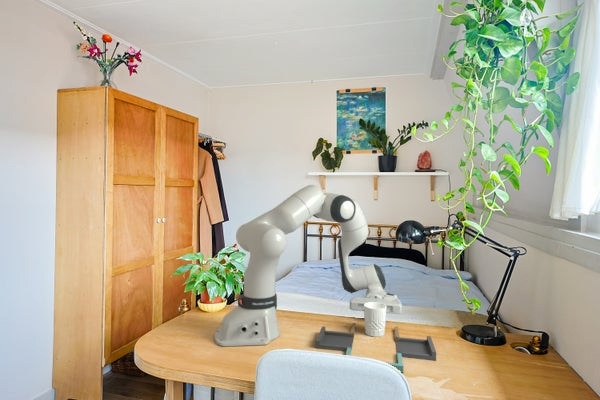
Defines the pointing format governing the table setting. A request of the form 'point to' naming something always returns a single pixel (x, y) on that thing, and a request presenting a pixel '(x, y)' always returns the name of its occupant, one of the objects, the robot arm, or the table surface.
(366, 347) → the table surface
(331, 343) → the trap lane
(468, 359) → the table surface
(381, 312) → the white cup
